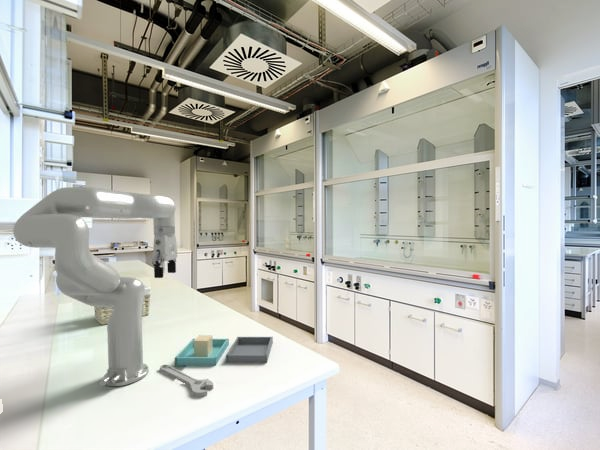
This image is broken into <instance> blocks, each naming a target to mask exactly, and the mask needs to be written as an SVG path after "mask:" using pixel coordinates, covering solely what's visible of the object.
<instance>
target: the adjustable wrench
mask: <svg viewBox="0 0 600 450" xmlns="http://www.w3.org/2000/svg"><path fill="white" fill-rule="evenodd" d="M159 371H160V372H161V373H163V374H165V375H166V376H167V375H168V376H169V377H171V378H173V379H175V380H176V379H179V380H181V382H183V383H182V384H184V383H185V384H184V385H186V384H187V385H186V386H188V387H189V388H190V390H191V394H192V395H193V396H194V397H197V398H202V397H207V396H208V390H214V382H213V381H212V380H210V379H209V378H206V379H205V378H204V379H196V378H194V377H192V376H190V375H188V374H187V373H184V372H183V371H181V370H179V369H176V367H173V366H171V365H169V364H162V365H160V366H159ZM204 389H208V390H204Z"/></svg>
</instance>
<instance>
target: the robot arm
mask: <svg viewBox="0 0 600 450" xmlns="http://www.w3.org/2000/svg"><path fill="white" fill-rule="evenodd" d="M175 212H176V204H175V202H174V200H172V198H170V197H168V196H164V195H163V196H162V195H157V194H144V193H138V192H137V193H136V192H131V191H130V192H129V191H120V190H113V189H108V188H107V189H106V188H100V187H94V186H71V187H69V186H68V187H60V188H58V189H55V190H54V191H51V192H50V193H48V194H47V195H46V196H45V197H43V198H42V199H40V201H38V202H37V203H35V204H34V205H33V206H32V207H30V209H28V210H27V211H25V212H24V213H23V214H22V215H21V216H20V217H19V218H18V219H17V220H16V221H15V223H14V226H13V229H12V231H13V232H12V234H13V236H14V239H15V240H16V241H17V243H19V244H21V245H22V246H25V247H28V248H35V249H36V248H46V249H49V248H50V249H51V248H55V250H54V251H55V252H54V269H55V272H56V273H57V274H56V278H55V282H56V287H57V288H58V290H59V291H60V292H61V294H64V295H65V296H67V297H69V298H71V299H73V300H76V301H78V302H80V303H82V304H85V305H88V306H91V307H93V308H94V307H110V308H114V310H113V312H112V314H111V316H110V318H109V320H108V323H107V324H106V325H107V326H106V327H107V329H106V331H107V359H108V363H107V364H108V368H107V369H106V373H105V374H104V375H103V377H102V378H101V380H99V386H101V387H105V386H108V387H122V386H126V385H127V386H128V385H131V384H133V383H135V382H137V381H139V380H141V379H143V378H144V377H145V376H147V375H148V373H149V371H150V370H149V365H147V364H146V363H144V356H143V355H144V353H143V352H144V351H143V321H142V320H143V316H142V304H143V299H144V293H145V288H144V285H145V284H144V283H143V282H142V281H141V280H139V278H136V277H129V276H127V277H126V276H120V274H119V273H118V271H117V270H116V268H114V267H113V266H111V265H110V264H108V263H107V262H105V261H103V260H102V259H100V258H99V257H97V256H96V255H94V254H93V253H92V252H91V250H90V229H89V225H88V224H87V222H86V221H85V220H84V219H83V218H90V219H91V218H95V219H96V218H98V219H122V220H123V219H127V220H128V219H152V220H153V236H154V237H153V251H152V252H153V253H152V255H151V257H150V259H151V262H152V265H153V271H154V272H153V273H154V274H153V275H154V278H155V279H163V278H164V267H163V266H164V262H167V263H166V265H167V273H168V274H175V273H176V272H177V266H176V265H177V263H176V262H177V258H178V245H177V244H178V243H177V239H176V222H175V221H176V219H175ZM143 284H144V285H143Z"/></svg>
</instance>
